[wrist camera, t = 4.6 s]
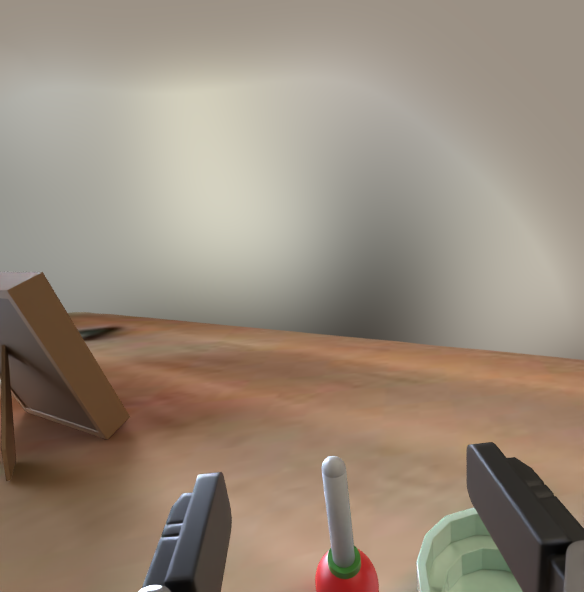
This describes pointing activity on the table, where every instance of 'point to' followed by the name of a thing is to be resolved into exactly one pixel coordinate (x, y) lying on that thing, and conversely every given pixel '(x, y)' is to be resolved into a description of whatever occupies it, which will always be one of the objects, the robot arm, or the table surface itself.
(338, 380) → the table surface
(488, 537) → the bowl
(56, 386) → the photo frame
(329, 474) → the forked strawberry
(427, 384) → the table surface
